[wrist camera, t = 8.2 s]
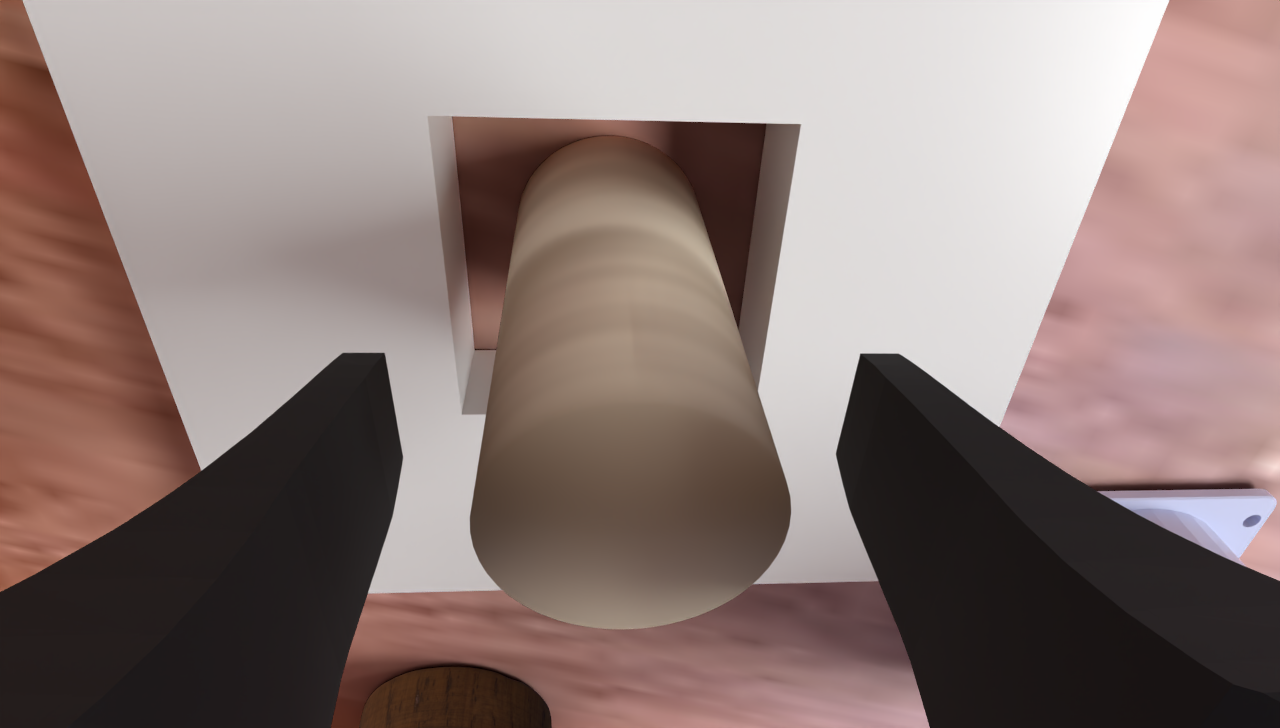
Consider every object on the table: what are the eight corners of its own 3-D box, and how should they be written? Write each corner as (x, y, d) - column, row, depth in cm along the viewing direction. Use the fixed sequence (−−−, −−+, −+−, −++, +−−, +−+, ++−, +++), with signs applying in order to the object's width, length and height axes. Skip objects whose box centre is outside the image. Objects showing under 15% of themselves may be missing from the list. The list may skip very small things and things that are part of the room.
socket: (906, 512, 23) (938, 579, 21) (281, 523, 21) (249, 596, 19) (1169, -270, 13) (1283, -290, 11) (4, -346, 11) (-125, -386, 9)
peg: (691, 304, 18) (767, 625, 11) (521, 303, 18) (481, 634, 11) (707, 137, 16) (816, 401, 9) (513, 133, 16) (455, 403, 8)
